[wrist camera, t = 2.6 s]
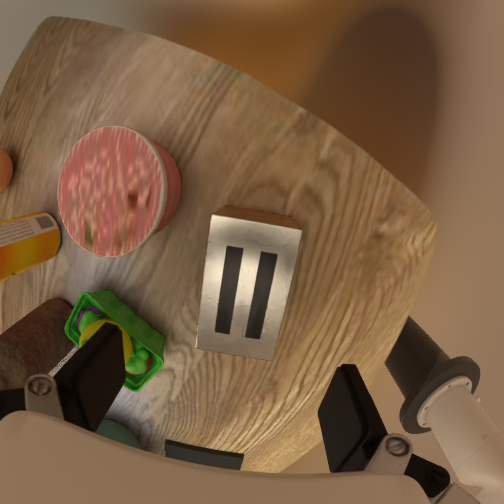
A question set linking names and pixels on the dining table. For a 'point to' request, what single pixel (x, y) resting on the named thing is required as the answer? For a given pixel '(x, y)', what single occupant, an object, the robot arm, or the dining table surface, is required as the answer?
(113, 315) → the fruit basket
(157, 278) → the dining table surface
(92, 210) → the container
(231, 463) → the mat
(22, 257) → the beer can
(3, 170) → the egg
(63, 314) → the candle
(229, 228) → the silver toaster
